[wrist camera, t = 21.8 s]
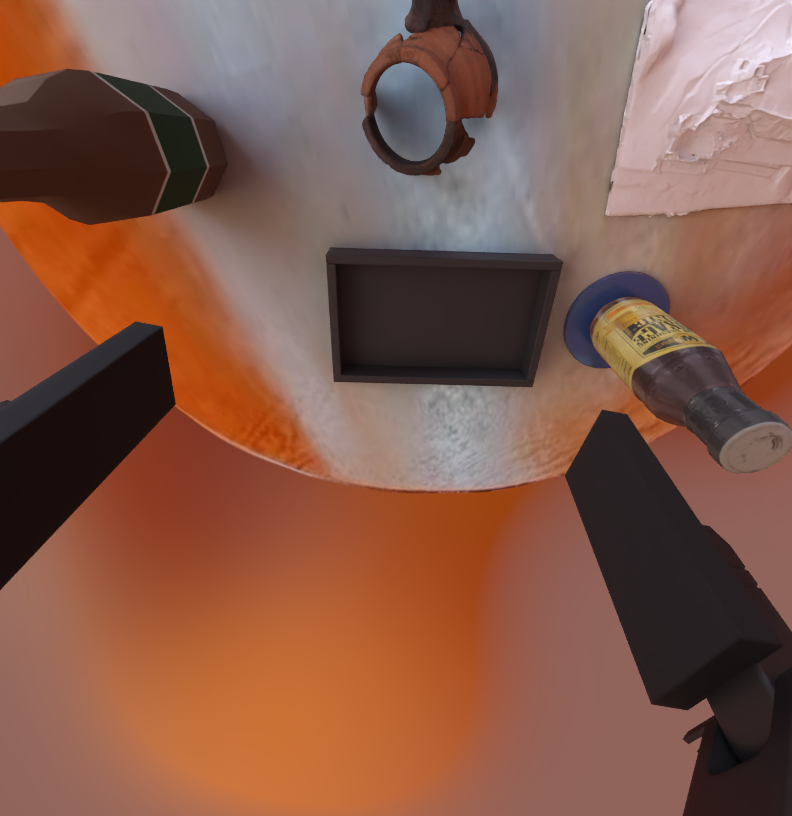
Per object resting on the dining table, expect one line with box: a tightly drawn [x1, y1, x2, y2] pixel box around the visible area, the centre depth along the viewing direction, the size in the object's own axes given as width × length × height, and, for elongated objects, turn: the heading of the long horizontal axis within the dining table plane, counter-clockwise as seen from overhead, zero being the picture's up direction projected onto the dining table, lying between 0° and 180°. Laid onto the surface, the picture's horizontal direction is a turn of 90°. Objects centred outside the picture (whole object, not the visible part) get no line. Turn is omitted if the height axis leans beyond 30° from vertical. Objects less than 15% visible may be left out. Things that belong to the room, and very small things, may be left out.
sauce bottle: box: [590, 296, 792, 473], centre depth 32 cm, size 6×6×20 cm
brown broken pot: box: [361, 0, 498, 176], centre depth 29 cm, size 12×10×8 cm
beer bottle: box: [0, 69, 227, 225], centre depth 23 cm, size 8×8×24 cm
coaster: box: [564, 272, 670, 368], centre depth 41 cm, size 10×10×1 cm
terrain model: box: [605, 0, 792, 218], centre depth 30 cm, size 17×23×5 cm
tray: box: [326, 248, 563, 387], centre depth 40 cm, size 13×21×3 cm, turn 88°
